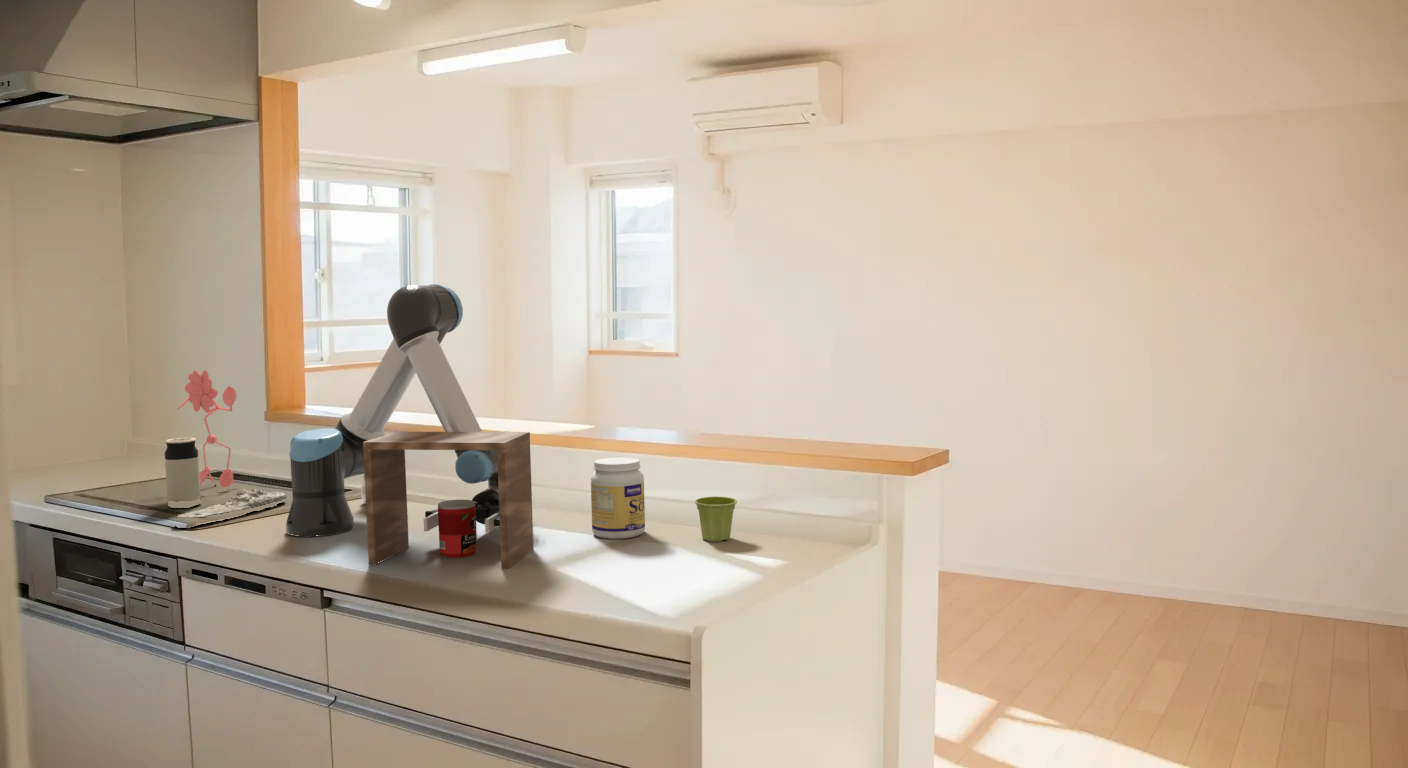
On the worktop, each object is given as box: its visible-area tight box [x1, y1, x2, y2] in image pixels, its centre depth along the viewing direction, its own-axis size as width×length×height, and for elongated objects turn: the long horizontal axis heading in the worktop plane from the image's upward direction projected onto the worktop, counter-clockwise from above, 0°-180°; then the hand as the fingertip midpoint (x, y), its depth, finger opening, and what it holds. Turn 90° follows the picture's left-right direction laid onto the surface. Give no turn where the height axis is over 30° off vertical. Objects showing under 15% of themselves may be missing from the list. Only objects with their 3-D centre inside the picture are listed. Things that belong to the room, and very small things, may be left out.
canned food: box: [437, 499, 478, 559], centre depth 230 cm, size 8×8×11 cm
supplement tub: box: [590, 457, 646, 540], centre depth 246 cm, size 12×12×17 cm
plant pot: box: [694, 495, 738, 543], centre depth 239 cm, size 9×9×9 cm
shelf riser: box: [363, 431, 534, 569], centre depth 226 cm, size 30×16×26 cm, turn 81°
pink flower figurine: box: [177, 369, 237, 488], centre depth 308 cm, size 15×26×35 cm, turn 61°
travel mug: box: [164, 437, 202, 502], centre depth 287 cm, size 8×8×18 cm
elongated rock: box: [176, 488, 287, 518], centre depth 276 cm, size 35×5×10 cm
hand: (455, 525), depth 228 cm, fingers open, 13 cm apart
